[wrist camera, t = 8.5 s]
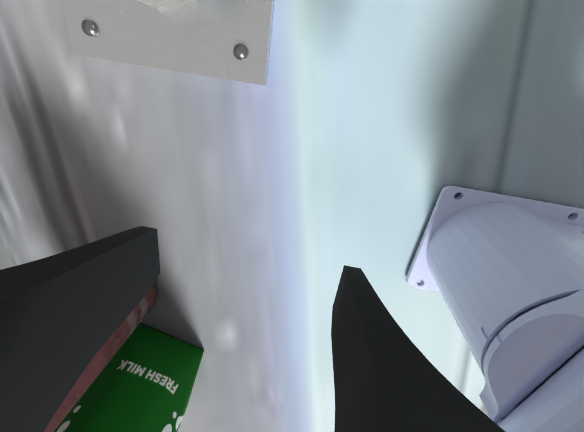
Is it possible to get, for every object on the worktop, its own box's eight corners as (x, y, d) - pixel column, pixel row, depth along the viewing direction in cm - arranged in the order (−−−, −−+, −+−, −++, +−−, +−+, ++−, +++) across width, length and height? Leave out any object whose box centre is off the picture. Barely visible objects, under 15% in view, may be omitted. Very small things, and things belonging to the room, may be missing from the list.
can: (79, 263, 25) (-169, 442, 13) (136, 247, 24) (-83, 434, 11) (116, 314, 28) (-63, 509, 15) (171, 302, 26) (22, 510, 13)
